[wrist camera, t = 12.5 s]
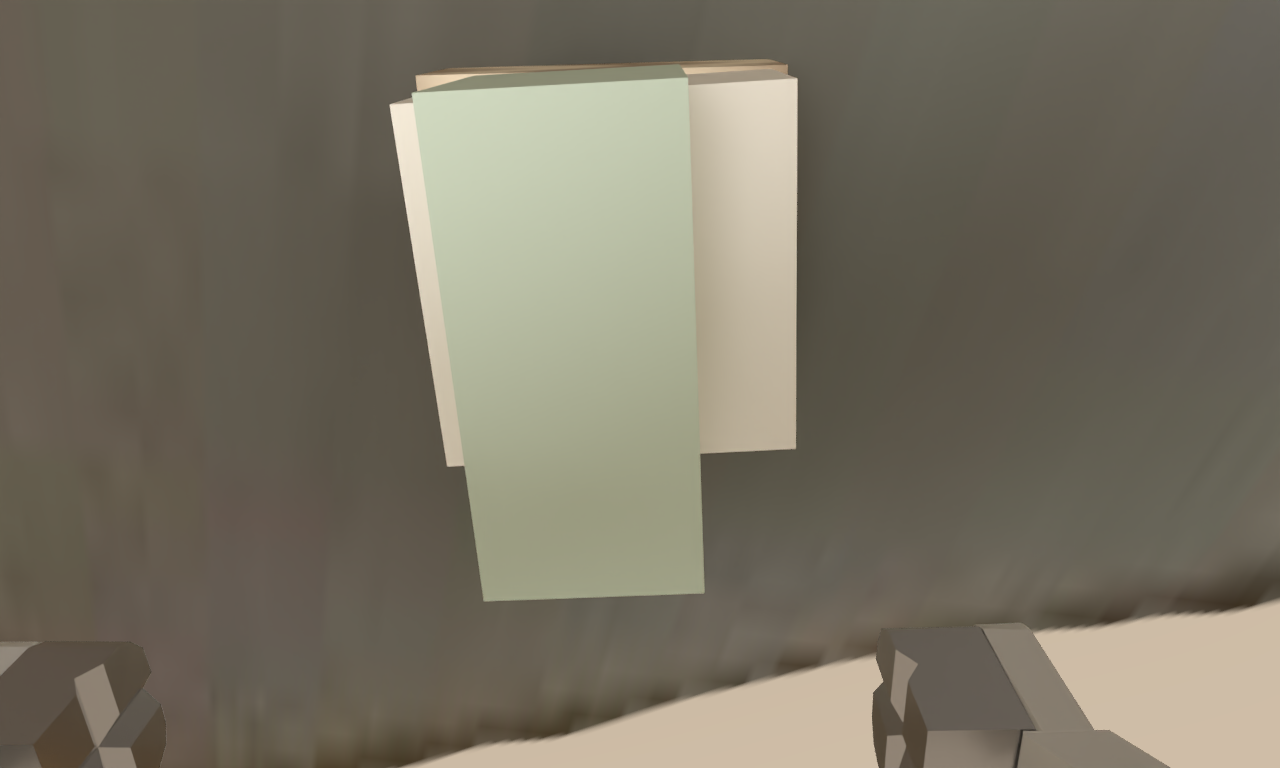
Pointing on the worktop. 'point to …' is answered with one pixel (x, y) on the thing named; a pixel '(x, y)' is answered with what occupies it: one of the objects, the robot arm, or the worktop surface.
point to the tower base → (688, 66)
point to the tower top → (723, 260)
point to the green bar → (571, 325)
